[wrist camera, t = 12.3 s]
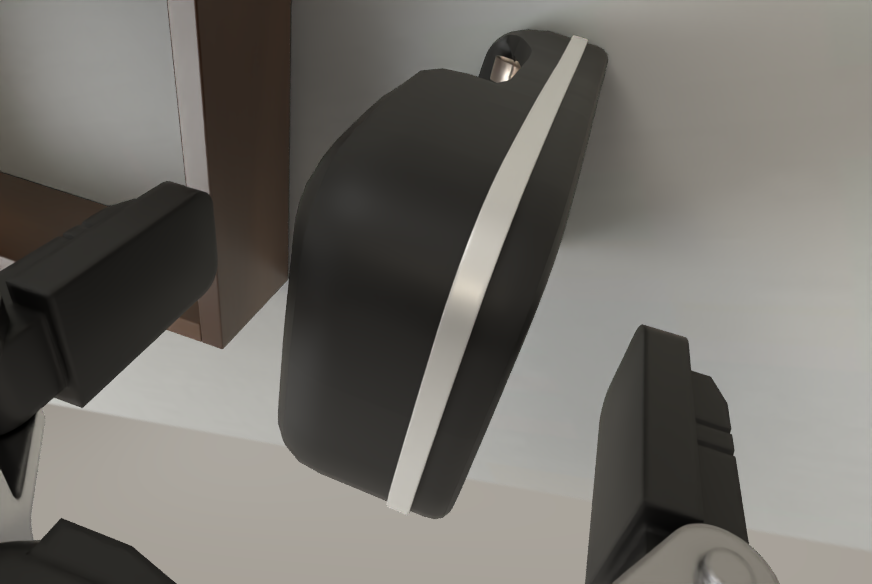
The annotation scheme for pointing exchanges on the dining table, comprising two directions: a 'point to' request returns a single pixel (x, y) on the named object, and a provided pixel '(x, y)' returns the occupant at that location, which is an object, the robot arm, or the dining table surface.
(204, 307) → the walnut box
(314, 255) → the battery charger
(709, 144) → the dining table surface
